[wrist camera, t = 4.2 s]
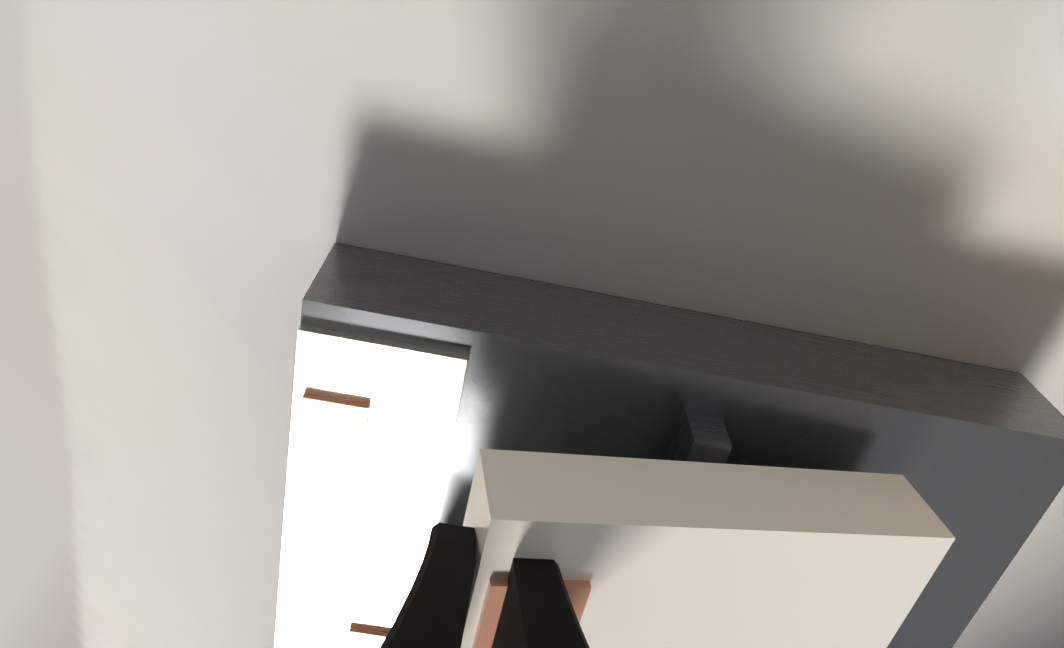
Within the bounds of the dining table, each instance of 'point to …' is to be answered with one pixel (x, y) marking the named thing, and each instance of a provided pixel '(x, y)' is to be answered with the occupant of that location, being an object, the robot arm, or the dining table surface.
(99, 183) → the dining table surface
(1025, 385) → the switch panel
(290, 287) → the dining table surface
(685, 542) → the rocker
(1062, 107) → the dining table surface
